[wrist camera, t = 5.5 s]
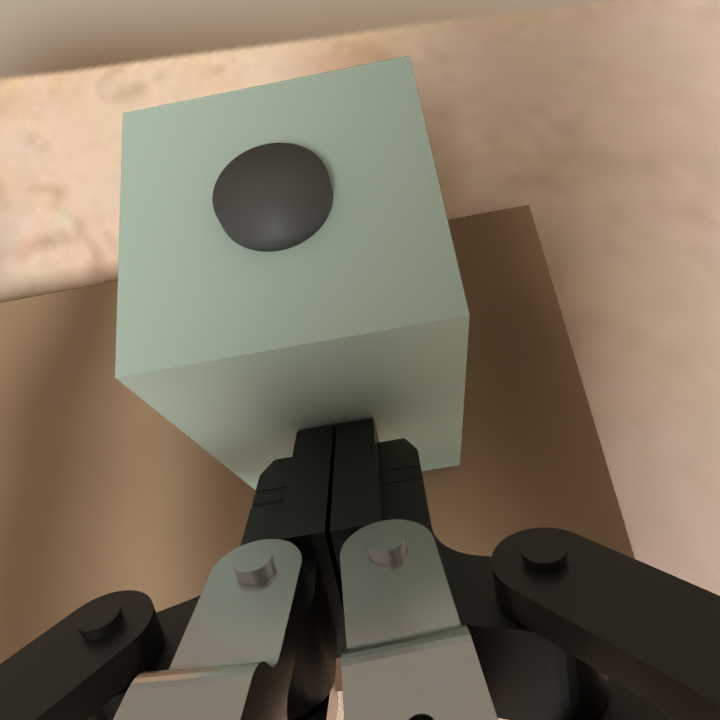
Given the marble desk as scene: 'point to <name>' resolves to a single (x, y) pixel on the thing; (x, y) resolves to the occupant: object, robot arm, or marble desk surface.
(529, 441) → the tile board
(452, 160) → the marble desk surface
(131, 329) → the tile one
